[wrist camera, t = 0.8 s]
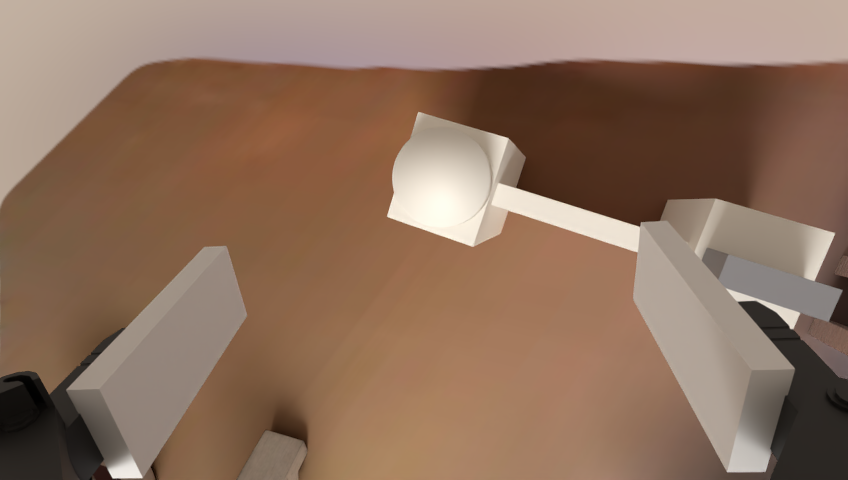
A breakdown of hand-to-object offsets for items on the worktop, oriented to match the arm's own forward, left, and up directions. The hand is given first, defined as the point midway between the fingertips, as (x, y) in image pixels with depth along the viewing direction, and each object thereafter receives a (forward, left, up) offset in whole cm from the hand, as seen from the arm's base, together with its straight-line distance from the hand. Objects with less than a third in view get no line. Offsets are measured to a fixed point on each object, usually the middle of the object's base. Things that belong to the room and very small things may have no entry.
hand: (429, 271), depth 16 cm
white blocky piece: (-5, -3, -30) cm, 30 cm away
